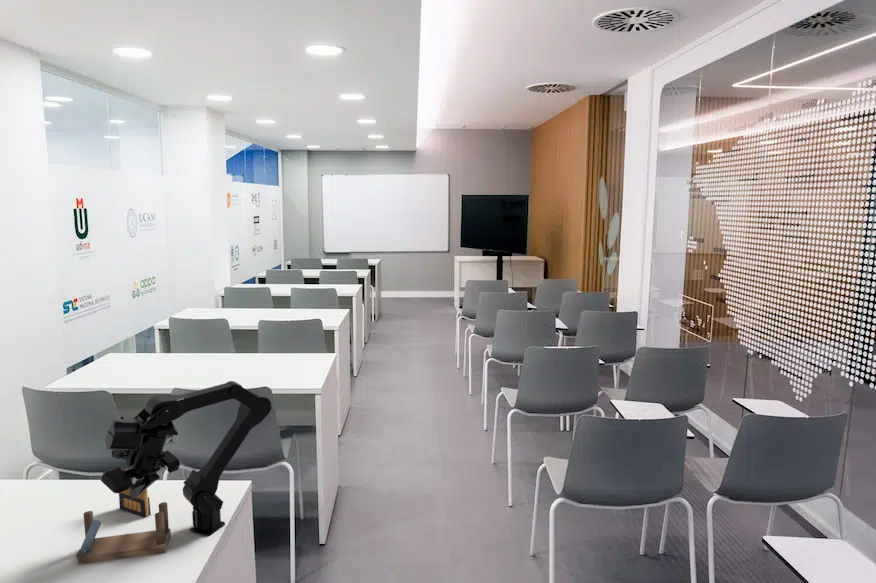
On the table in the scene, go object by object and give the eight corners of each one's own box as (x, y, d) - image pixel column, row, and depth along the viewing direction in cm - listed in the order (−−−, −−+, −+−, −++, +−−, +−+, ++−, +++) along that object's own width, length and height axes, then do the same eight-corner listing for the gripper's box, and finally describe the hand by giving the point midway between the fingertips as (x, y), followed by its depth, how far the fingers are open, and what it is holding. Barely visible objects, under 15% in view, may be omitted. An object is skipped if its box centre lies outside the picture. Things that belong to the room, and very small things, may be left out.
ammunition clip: (151, 515, 165) (148, 474, 163) (145, 518, 163) (142, 476, 162) (125, 506, 170) (122, 466, 168) (119, 509, 168) (116, 469, 166)
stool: (170, 535, 154) (168, 500, 153) (165, 552, 147) (163, 516, 145) (86, 546, 149) (83, 510, 148) (76, 565, 142) (73, 527, 140)
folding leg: (90, 549, 145) (102, 520, 144) (87, 554, 142) (99, 525, 142) (81, 546, 144) (94, 518, 144) (78, 552, 142) (91, 523, 142)
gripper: (161, 420, 158) (144, 468, 162) (95, 439, 141) (78, 492, 145) (189, 443, 155) (171, 492, 158) (125, 465, 138) (106, 519, 141)
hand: (133, 497), depth 151 cm, fingers closed
